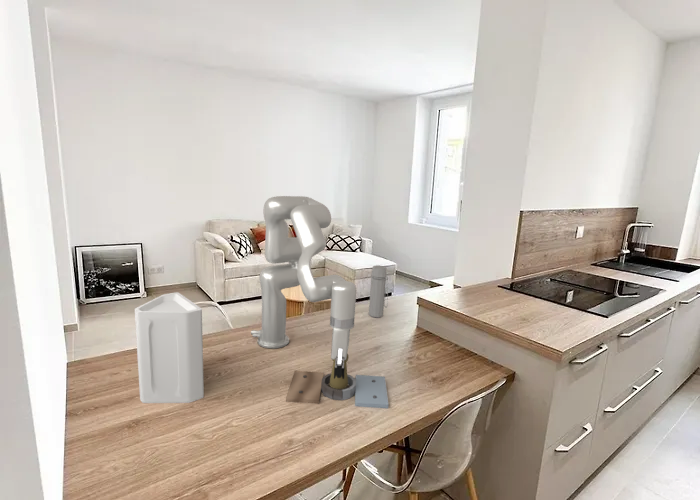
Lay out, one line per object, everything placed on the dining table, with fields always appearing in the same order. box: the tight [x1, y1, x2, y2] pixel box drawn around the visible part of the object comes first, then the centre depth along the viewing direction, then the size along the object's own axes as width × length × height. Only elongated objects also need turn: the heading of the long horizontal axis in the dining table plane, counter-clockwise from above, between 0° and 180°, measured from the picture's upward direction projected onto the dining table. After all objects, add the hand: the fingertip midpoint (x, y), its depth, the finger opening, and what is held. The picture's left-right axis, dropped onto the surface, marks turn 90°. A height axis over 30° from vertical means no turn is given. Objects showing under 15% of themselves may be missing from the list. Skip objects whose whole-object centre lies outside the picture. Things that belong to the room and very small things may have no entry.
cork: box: [328, 351, 349, 390], centre depth 119 cm, size 6×6×11 cm
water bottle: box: [368, 264, 389, 318], centre depth 184 cm, size 9×8×25 cm
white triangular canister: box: [134, 291, 205, 404], centre depth 112 cm, size 19×15×28 cm
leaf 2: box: [341, 373, 389, 409], centre depth 120 cm, size 14×16×3 cm
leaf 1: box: [285, 370, 343, 405], centre depth 120 cm, size 17×16×3 cm
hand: (339, 374), depth 120 cm, fingers closed on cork, 3 cm apart
